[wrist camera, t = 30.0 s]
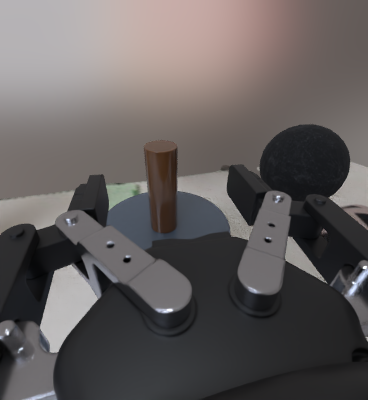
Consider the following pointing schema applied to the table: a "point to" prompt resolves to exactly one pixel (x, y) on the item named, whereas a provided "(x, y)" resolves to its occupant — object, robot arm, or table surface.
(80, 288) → the table surface
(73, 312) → the table surface
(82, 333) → the robot arm
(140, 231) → the lid
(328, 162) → the black ball on stand
